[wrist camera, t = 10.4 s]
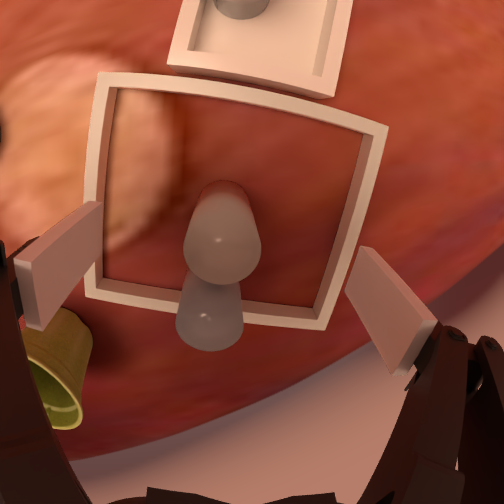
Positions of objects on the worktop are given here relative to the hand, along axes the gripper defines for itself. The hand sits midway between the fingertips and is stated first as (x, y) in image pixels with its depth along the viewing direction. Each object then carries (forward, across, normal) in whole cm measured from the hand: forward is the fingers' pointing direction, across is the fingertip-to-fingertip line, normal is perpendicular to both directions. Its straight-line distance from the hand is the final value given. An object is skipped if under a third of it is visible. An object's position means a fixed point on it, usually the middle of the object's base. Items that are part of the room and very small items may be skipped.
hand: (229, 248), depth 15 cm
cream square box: (+8, 0, -14) cm, 16 cm away
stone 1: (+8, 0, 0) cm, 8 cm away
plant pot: (+8, +14, +15) cm, 22 cm away
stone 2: (+8, 0, +5) cm, 9 cm away
